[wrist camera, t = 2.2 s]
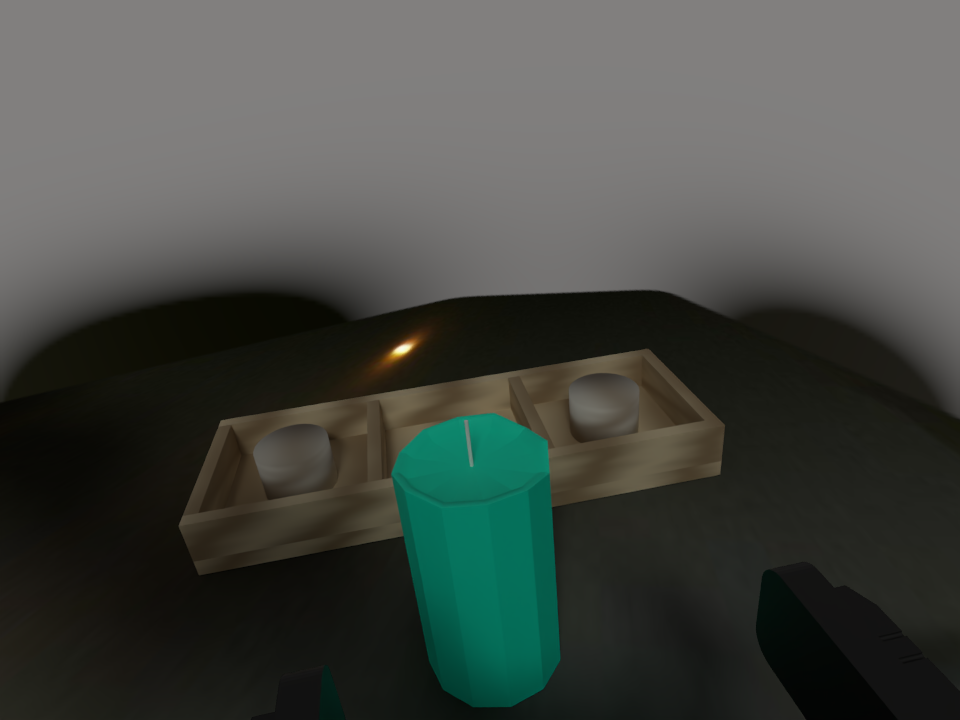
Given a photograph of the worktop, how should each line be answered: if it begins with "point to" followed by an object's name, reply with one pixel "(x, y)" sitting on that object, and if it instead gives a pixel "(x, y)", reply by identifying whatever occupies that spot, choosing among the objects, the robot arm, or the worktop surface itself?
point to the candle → (482, 555)
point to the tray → (401, 417)
